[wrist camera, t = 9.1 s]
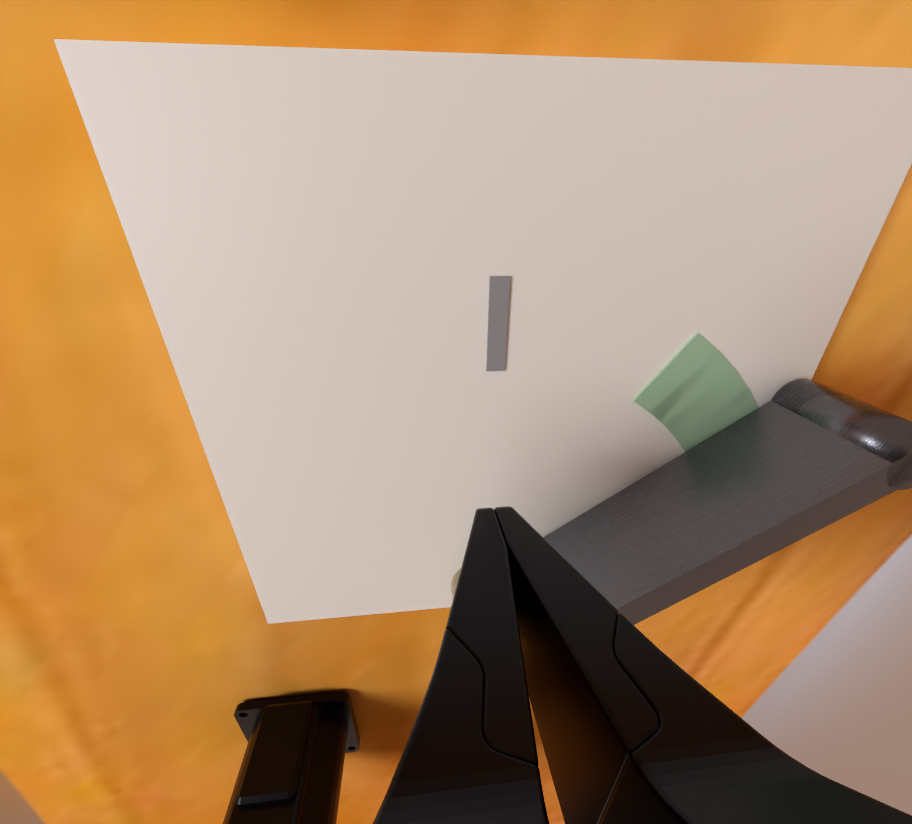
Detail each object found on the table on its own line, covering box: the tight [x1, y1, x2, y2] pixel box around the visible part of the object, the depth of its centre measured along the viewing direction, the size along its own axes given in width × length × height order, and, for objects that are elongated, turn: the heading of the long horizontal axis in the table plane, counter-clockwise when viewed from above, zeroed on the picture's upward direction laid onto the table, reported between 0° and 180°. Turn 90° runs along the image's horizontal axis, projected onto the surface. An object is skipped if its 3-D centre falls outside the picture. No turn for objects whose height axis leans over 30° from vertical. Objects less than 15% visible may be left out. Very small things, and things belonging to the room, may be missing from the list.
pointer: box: [451, 379, 912, 625], centre depth 14 cm, size 16×3×4 cm, turn 127°
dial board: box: [54, 39, 912, 624], centre depth 14 cm, size 20×22×2 cm
